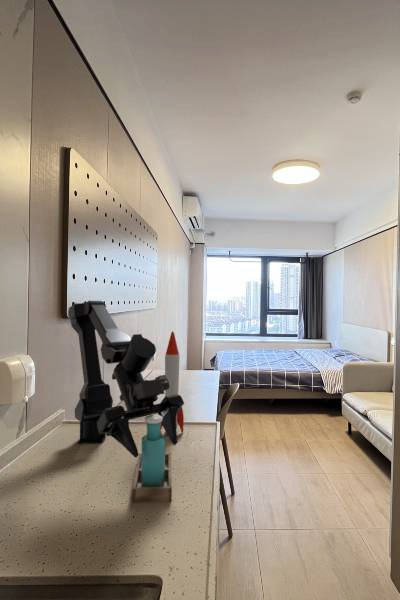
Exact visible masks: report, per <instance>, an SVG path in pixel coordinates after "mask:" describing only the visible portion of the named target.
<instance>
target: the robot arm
mask: <svg viewBox="0 0 400 600" xmlns="http://www.w3.org/2000/svg"><path fill="white" fill-rule="evenodd" d="M67 312H68V313H67V314H68V315H67V316H68V319H69V320H70V325H71V327H72V328H73V330H74V331H75V332H76V333H77V335H78V343H79V351H80V360H81V367H82V368H81V369H82V377H83V383H84V384H83V386H82V388H81V390H80V392H79V400H78V402H77V403H76V406H75V408H74V410H73V411H74V418H75V419H76V420H78V422H79V439H78V440H77V444H79V445H80V444H102V443H103V442H104V440H105V439H106V438H107V437H111V438H113V439H114V440H115V441H117V442H118V443H120V444H121V446H122V447H124V448H125V449H126V450H127V451H128V452H129V453H130V454H131V455H132V456H133V458H138V457H139V450H138V448H137V445H136V442H135V439H134V437H133V434H132V431H131V429H130V424H129V423H130V422H129V421H130V420H135V419H138V418H143V417H146V416H149V415H160V416H162V417H163V421H162V422H161V424H162V428H163V429H164V431H165V433H166V436H167V435H168V436H167V437H168V438H169V441H170V442H171V443H172V444H173V446H176V445H177V444H178V434H177V433H178V432H177V429H176V415H177V413H178V411H179V410H180V409H181V407H182V408H183V406H184V404H185V401H184V399H183V397H182V396H181V395H180V394H179V393H178V394H175V395H170V396H165V390H167V389H169V381H168V379H167V377H166V376H165V374H162V375H158V376H155V378H154V379H149V380H147V379H144V377H143V374H142V372H144V371H145V370H146V369H147V367H148V366H149V364H150V363H151V361H152V359H153V357H155V355H156V352H157V349H156V345H155V343H153V342H152V341H151V340H150V339H148V338H145V337H143V335H142V333H137V334H132V337H130V336H129V335H128V334H127V333H125V332H123V331H121V330H120V329H119V328H118V326H117V325H116V323H115V321H114V319H113V317H112V316H111V314H110V313H109V311H108V309H107V305H106V302H105V301H102V300H88V301H85V302H81V303H79V302H78V303H73V304H72V305H71V306H69V308H68V310H67ZM96 333H97V334H96ZM97 335H98V336H99V338H100V340H101V343H102V344H101V346H100V353H101V357H102V359H103V361H104V363H106V364H112V365H113V364H116V365H115V367H114V369H113V371H112V375H111V379H112V380H116V383H117V386H118V388H119V391H120V396H119V400H120V402H121V401H122V402H123V403H124V405H125V408H126V410H125V408H124V406H122V405H117V406H113V403H114V400H113V397H112V395H111V387H110V385H109V383H105V381H104V380H103V379H102V373H101V365H100V359H99V349H98V342H97ZM160 395H164V397H163V399H162V400H161V401H160V403H156V404H154V402H156V401H157V400H158V399H159V398H158V396H160Z"/></svg>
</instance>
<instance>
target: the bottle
mask: <svg viewBox="0 0 400 600" xmlns="http://www.w3.org/2000/svg"><path fill="white" fill-rule="evenodd" d="M144 417H145V418H144V422H145V424H146V434H145V435H143V436H142V437H141V454H142V455H141V487H164V486H165V453H166V436H165V435H164V434H161V431H162V429H161V422H162V421H163V417H162V416H160V415H158V414H152V415H148V416H144Z"/></svg>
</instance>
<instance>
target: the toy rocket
mask: <svg viewBox="0 0 400 600" xmlns="http://www.w3.org/2000/svg"><path fill="white" fill-rule="evenodd" d="M175 335H176V334H175V333H174V331H173V330H172V332H171V333H170V337H169V340H168V345H167V346H166V347H167V348H166V352H165V355H164V375H165V376H166V377H167V379H168V381H169V389H167V390H165V391H164V397H165V396H170V395H175V394H178V395H179V386H180V385H179V384H180V383H179V381H180V353H179V349H178V345H177V340H176V336H175ZM183 409H184V408H183V406H182V407H181V409H180V410H179V411H178V413H177V415H176V430H177V429H178V426H179V429H180V431H181V433H182V434H184V423H185V421H184V410H183ZM162 428H163V426H162V424H161V430H162ZM166 437H168V435H167V434H166Z"/></svg>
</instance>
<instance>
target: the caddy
mask: <svg viewBox="0 0 400 600" xmlns="http://www.w3.org/2000/svg"><path fill="white" fill-rule="evenodd" d="M141 455H142V453H138V456H137V464H136V467H135V468H136V469H135V474H134V479H133V484H132V490H131V491H132V493H131V494H132V496H131V498H132V499H131V503H132V504H133V503H134V504H135V503H157V502H158V503H160V502H161V503H162V502H172V501H173V499H172V493H173V483H172V479H173V478H172V477H173V476H172V475H173V474H172V452H165V486H164V487H141Z"/></svg>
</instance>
